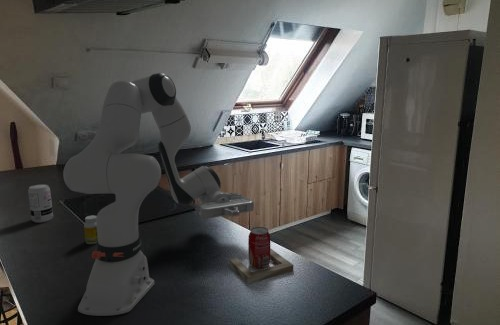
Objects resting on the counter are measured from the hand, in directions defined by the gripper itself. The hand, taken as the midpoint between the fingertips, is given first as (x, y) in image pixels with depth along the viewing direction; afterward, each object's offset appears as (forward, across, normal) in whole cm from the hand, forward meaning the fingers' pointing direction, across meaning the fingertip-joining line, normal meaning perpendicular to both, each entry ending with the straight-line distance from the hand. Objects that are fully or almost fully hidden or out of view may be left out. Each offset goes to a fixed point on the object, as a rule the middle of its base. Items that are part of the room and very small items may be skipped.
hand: (235, 214), depth 128 cm
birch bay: (+14, +2, +14) cm, 20 cm away
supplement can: (-68, -60, +13) cm, 92 cm away
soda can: (+12, +2, +14) cm, 19 cm away
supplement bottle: (-33, -43, +14) cm, 56 cm away
